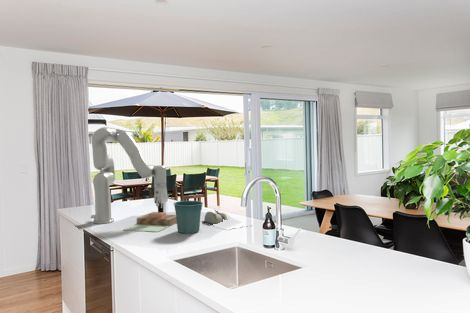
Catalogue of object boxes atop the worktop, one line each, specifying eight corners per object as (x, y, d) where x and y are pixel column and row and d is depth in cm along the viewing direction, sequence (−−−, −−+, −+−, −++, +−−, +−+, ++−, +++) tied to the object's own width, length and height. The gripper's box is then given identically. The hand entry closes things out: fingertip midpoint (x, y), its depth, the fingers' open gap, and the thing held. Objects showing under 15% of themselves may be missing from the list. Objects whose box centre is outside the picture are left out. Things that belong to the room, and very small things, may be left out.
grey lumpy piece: (197, 209, 242) (223, 206, 254) (197, 221, 243) (223, 217, 254) (226, 217, 216) (253, 213, 227) (226, 231, 216) (254, 226, 228)
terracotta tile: (148, 217, 234) (148, 213, 234) (153, 215, 240) (153, 211, 240) (161, 218, 232) (161, 214, 232) (166, 216, 238) (166, 212, 238)
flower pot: (209, 229, 217) (208, 201, 217) (191, 236, 203) (191, 206, 203) (186, 226, 226) (185, 199, 225) (167, 232, 212) (167, 204, 211)
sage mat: (123, 230, 219) (123, 229, 219) (136, 224, 233) (136, 224, 233) (157, 232, 213) (157, 231, 213) (169, 226, 227) (169, 225, 227)
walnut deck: (136, 224, 234) (136, 217, 233) (148, 219, 247) (148, 213, 247) (169, 226, 228) (169, 219, 227) (179, 221, 241) (179, 215, 241)
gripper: (160, 186, 232) (161, 216, 232) (170, 183, 246) (171, 212, 247) (149, 186, 233) (149, 216, 234) (160, 183, 248) (160, 211, 249)
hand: (160, 214), depth 241 cm, fingers closed
